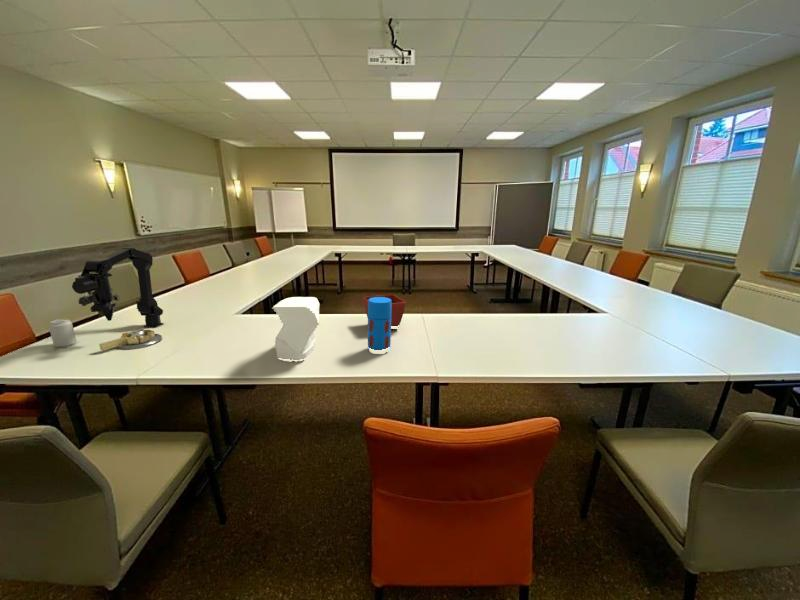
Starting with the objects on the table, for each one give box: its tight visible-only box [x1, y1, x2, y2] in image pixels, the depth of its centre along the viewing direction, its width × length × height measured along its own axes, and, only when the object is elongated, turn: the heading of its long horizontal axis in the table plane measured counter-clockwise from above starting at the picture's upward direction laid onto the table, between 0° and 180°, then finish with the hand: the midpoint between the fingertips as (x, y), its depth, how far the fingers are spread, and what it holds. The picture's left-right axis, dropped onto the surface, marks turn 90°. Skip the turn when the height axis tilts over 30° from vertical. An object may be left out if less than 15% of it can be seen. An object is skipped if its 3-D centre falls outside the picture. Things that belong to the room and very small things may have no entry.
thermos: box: [367, 297, 392, 350], centre depth 155 cm, size 11×11×25 cm
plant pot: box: [362, 294, 406, 326], centre depth 187 cm, size 19×19×17 cm
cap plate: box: [114, 329, 163, 351], centre depth 158 cm, size 18×18×6 cm
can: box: [48, 318, 77, 348], centre depth 151 cm, size 8×8×12 cm
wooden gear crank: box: [99, 327, 156, 351], centre depth 154 cm, size 20×12×4 cm, turn 154°
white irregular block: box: [271, 296, 321, 360], centre depth 149 cm, size 21×27×26 cm
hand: (109, 320), depth 153 cm, fingers closed
